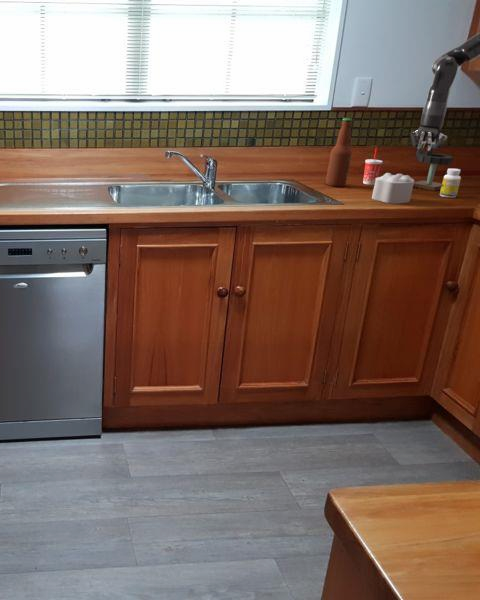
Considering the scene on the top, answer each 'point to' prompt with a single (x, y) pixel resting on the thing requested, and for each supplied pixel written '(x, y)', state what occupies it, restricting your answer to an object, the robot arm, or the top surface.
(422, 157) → the ring
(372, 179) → the beverage cup
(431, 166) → the stand
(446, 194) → the supplement bottle
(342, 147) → the bottle
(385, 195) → the white bumpy block
